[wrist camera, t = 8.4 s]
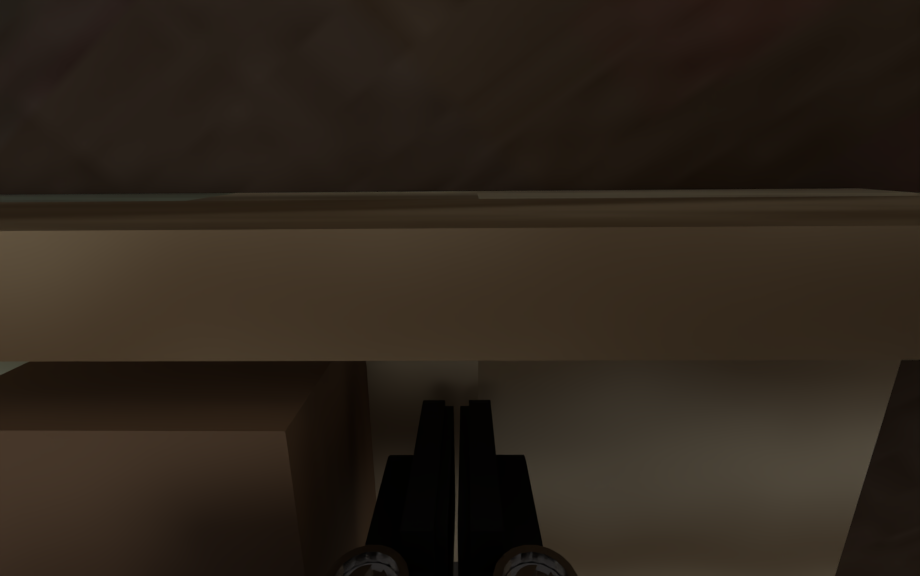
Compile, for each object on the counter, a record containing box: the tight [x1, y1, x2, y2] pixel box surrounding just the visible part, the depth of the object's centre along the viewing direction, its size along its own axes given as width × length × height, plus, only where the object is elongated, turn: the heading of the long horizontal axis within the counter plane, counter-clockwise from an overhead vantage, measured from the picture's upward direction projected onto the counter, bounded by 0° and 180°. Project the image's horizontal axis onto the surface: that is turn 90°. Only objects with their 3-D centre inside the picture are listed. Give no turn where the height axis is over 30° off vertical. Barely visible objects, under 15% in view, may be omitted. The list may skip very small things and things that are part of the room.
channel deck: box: [0, 188, 920, 576], centre depth 12 cm, size 20×28×7 cm
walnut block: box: [0, 361, 376, 576], centre depth 10 cm, size 6×6×5 cm
